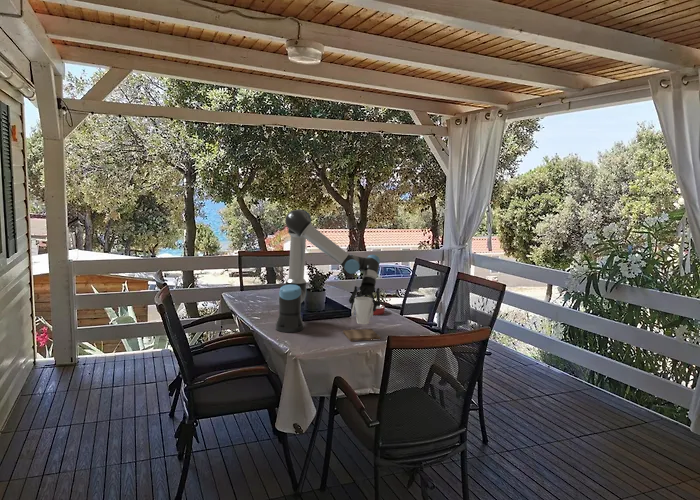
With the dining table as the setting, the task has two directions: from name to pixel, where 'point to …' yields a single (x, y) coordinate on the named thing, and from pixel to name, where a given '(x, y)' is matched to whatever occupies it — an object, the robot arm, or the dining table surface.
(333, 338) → the dining table surface
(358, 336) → the walnut board
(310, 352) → the dining table surface
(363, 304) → the foam cup
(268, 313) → the dining table surface
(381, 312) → the frying pan
